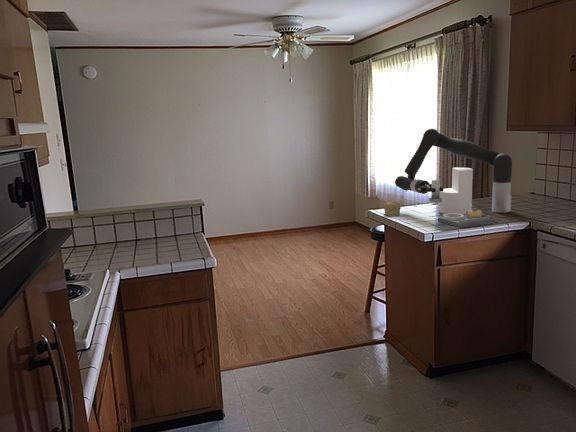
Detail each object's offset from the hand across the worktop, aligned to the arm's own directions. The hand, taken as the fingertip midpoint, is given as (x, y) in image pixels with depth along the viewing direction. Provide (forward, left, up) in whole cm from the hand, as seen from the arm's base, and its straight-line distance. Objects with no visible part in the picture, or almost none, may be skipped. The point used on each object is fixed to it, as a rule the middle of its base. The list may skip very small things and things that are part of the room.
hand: (438, 189), depth 254 cm
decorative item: (+12, -27, -17) cm, 34 cm away
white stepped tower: (-23, -15, -17) cm, 32 cm away
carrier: (-9, +10, -17) cm, 22 cm away
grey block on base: (0, -3, -7) cm, 7 cm away
